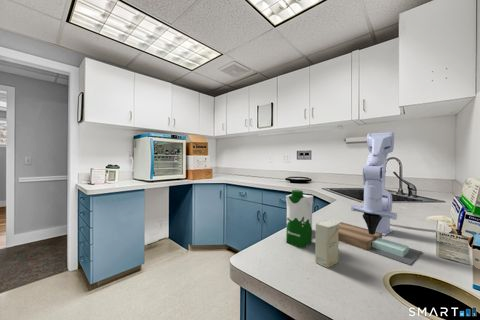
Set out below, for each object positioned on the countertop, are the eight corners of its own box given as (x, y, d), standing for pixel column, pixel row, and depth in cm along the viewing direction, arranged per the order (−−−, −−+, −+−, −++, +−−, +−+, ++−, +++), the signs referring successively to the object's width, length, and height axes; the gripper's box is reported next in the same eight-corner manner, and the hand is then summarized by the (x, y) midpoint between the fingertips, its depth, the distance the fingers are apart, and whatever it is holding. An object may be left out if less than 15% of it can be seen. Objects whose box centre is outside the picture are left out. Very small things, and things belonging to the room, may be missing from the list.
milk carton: (282, 242, 77) (283, 190, 76) (294, 236, 83) (295, 187, 83) (304, 250, 71) (305, 193, 70) (315, 242, 77) (316, 190, 77)
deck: (341, 228, 92) (341, 222, 92) (381, 240, 79) (382, 233, 79) (324, 235, 84) (324, 228, 84) (366, 250, 71) (366, 241, 71)
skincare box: (327, 268, 59) (328, 227, 59) (314, 262, 63) (314, 223, 63) (338, 262, 63) (339, 223, 63) (325, 256, 67) (326, 219, 66)
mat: (384, 241, 79) (384, 240, 79) (422, 252, 70) (422, 251, 70) (369, 251, 70) (369, 250, 70) (410, 265, 61) (410, 264, 61)
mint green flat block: (378, 242, 77) (378, 237, 77) (408, 252, 69) (408, 246, 69) (372, 246, 73) (372, 241, 73) (402, 257, 66) (403, 251, 66)
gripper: (347, 195, 79) (347, 230, 79) (392, 202, 68) (391, 243, 68) (355, 193, 83) (355, 226, 84) (399, 200, 72) (398, 238, 72)
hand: (372, 233), depth 76 cm, fingers closed
